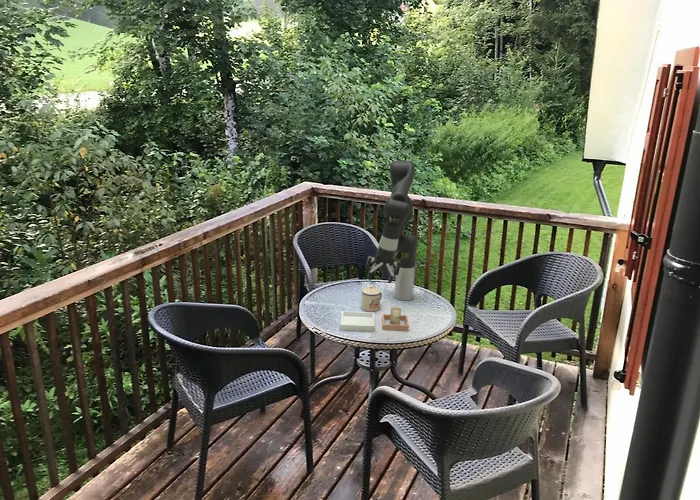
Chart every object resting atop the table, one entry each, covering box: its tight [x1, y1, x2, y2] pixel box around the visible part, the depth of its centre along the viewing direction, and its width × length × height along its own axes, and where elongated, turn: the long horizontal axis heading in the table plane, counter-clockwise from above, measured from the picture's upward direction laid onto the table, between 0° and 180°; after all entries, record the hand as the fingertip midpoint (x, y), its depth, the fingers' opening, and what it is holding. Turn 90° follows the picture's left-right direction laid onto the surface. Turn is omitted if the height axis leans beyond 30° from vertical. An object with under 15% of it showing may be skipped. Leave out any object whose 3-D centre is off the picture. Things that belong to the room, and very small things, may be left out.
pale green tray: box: [339, 310, 376, 333], centre depth 254 cm, size 15×15×3 cm
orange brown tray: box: [381, 313, 410, 332], centre depth 255 cm, size 12×12×2 cm
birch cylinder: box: [389, 306, 402, 325], centre depth 254 cm, size 5×5×8 cm
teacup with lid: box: [361, 284, 383, 313], centre depth 271 cm, size 12×9×12 cm
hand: (379, 281), depth 239 cm, fingers open, 8 cm apart
